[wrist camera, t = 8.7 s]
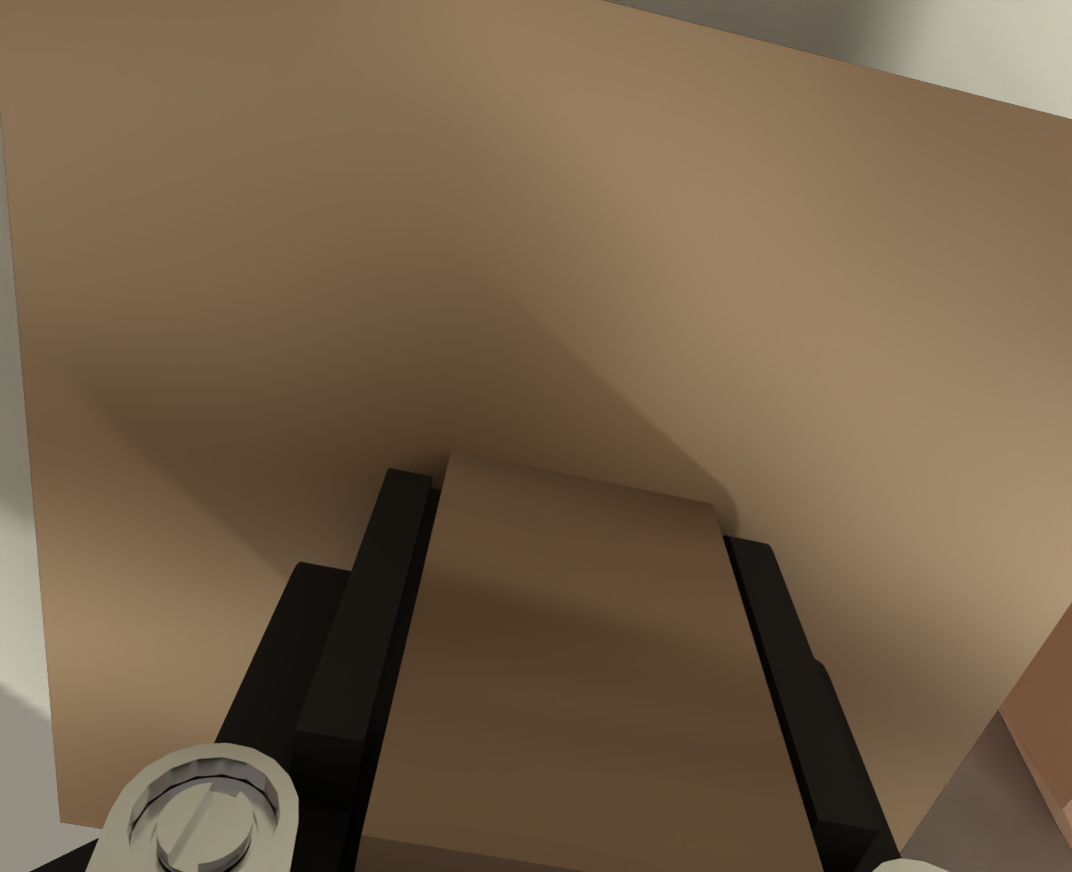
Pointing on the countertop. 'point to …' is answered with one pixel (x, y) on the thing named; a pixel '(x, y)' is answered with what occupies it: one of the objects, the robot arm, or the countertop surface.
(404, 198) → the lid
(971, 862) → the countertop surface
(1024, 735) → the bowl
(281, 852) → the robot arm
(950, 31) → the countertop surface
